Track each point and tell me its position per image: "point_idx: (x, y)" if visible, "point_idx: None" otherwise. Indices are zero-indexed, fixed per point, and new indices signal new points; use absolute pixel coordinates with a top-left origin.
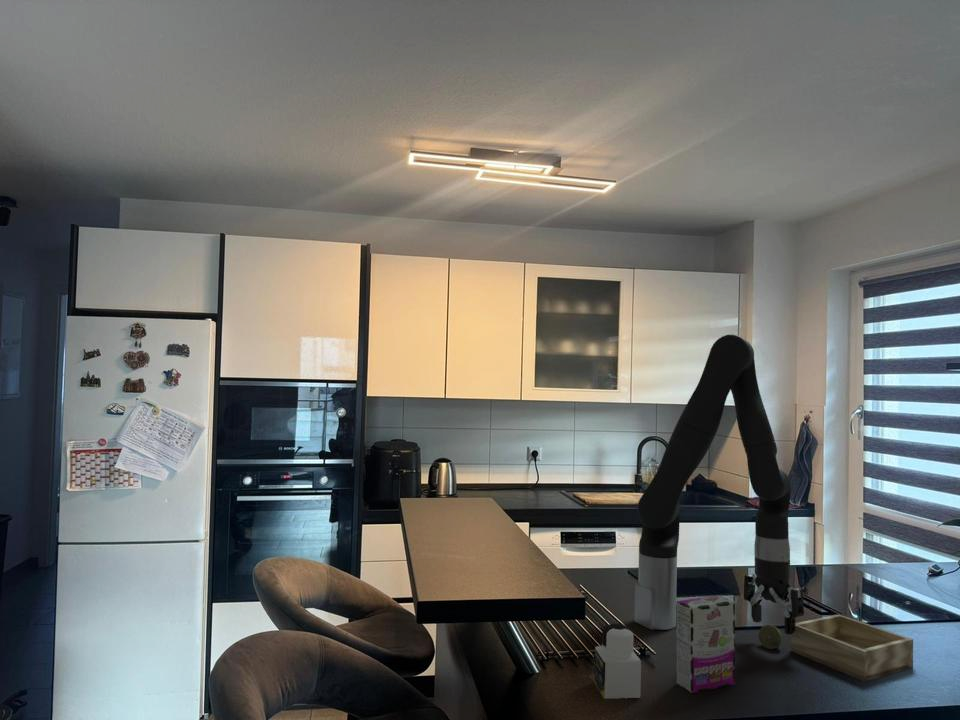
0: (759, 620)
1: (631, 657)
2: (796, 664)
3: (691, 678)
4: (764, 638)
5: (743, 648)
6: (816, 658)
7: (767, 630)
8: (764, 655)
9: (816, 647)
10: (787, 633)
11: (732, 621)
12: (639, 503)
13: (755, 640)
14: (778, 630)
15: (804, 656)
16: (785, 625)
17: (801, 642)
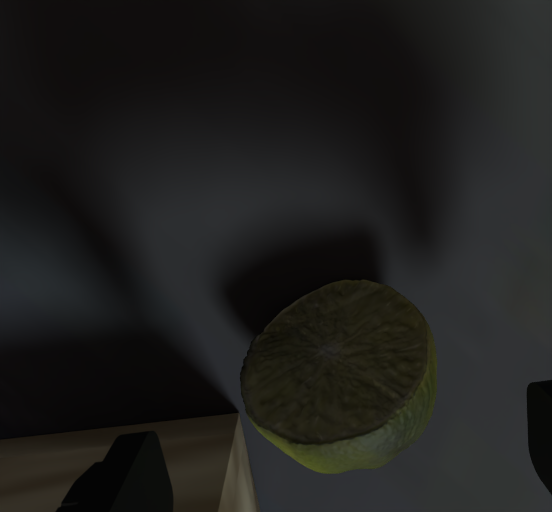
0: (537, 445)
1: None
2: (36, 283)
3: None
4: (360, 320)
5: (377, 104)
6: (48, 446)
7: (367, 384)
8: (214, 174)
9: (2, 504)
10: (120, 436)
11: None
12: None
13: (476, 321)
14: (285, 450)
15: (141, 425)
16: (106, 490)
17: None
